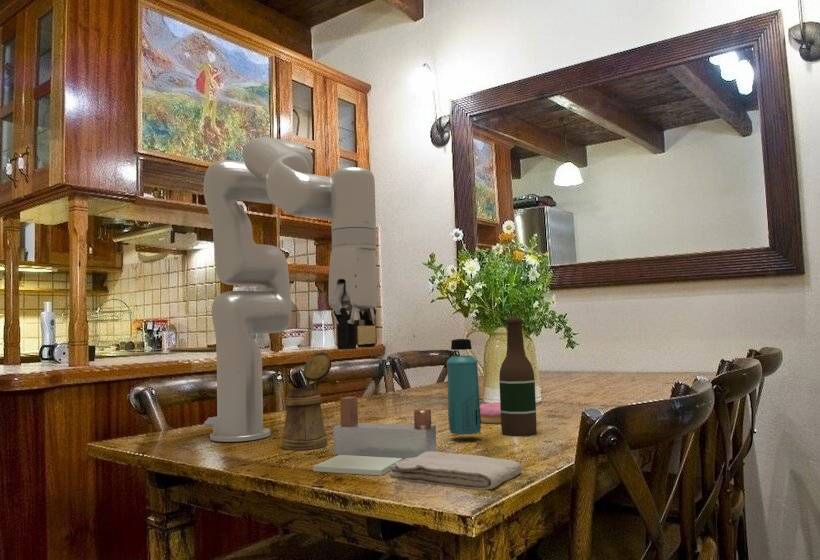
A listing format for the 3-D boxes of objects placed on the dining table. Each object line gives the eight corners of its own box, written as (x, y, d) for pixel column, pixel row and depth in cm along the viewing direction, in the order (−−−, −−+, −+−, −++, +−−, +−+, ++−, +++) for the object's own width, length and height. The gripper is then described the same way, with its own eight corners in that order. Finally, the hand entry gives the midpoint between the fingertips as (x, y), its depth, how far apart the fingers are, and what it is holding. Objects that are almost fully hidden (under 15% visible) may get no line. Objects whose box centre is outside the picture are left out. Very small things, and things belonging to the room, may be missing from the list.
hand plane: (333, 454, 115) (332, 399, 115) (346, 449, 119) (345, 395, 120) (426, 459, 108) (425, 400, 109) (436, 453, 113) (434, 397, 113)
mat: (313, 471, 102) (313, 466, 102) (339, 459, 110) (339, 454, 110) (380, 475, 98) (380, 470, 98) (402, 463, 106) (402, 458, 106)
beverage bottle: (480, 442, 122) (476, 338, 123) (446, 442, 123) (442, 339, 125) (483, 436, 128) (479, 337, 130) (450, 436, 130) (447, 338, 131)
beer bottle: (543, 431, 132) (538, 316, 134) (529, 437, 126) (524, 317, 127) (509, 429, 136) (504, 317, 138) (494, 435, 130) (489, 318, 131)
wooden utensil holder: (344, 438, 131) (342, 351, 132) (314, 451, 118) (312, 355, 120) (306, 437, 134) (304, 352, 135) (272, 449, 121) (271, 355, 122)
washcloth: (424, 465, 106) (423, 446, 106) (525, 476, 97) (524, 455, 97) (384, 481, 96) (384, 460, 96) (493, 494, 87) (492, 472, 87)
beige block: (337, 345, 103) (336, 320, 104) (354, 343, 109) (354, 320, 110) (359, 344, 102) (358, 319, 102) (375, 343, 108) (375, 319, 108)
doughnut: (529, 423, 144) (529, 405, 145) (484, 426, 142) (483, 407, 142) (511, 417, 155) (510, 399, 155) (468, 419, 152) (467, 402, 152)
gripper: (356, 248, 116) (359, 346, 115) (308, 237, 100) (310, 351, 99) (394, 245, 114) (397, 345, 112) (351, 233, 97) (353, 350, 96)
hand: (356, 347), depth 106 cm, fingers closed on beige block, 6 cm apart
